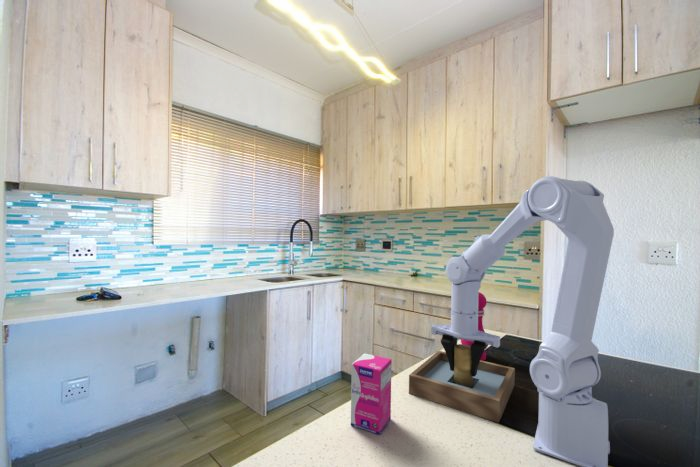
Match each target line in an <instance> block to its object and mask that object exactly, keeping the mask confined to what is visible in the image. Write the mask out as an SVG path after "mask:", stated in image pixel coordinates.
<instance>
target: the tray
mask: <svg viewBox="0 0 700 467" xmlns="http://www.w3.org/2000/svg"><path fill="white" fill-rule="evenodd" d="M440 361H445V362H449V361H448V357H447V354H446V352H445V351H441V350H438V351H436V352H435V353H433V355H431V356H430V357H429V358H428V359H426V360H425V361H424V362H423V363H422V364H421V365H420V366H418V367H417V368H416V369H415V370H413V371H412V372H411V373H410V374H409V375H408V394H410V395H412V396H416V397H419V398H421V399H425V400H428V401H430V402H432V403H433V402H434V403H437V404H440V405H443V406H446V407H450V408H451V409H452V408H453V409H455V410H458V411H462V412H464V413H468V414H470V415H474V416H476V417H480V418H482V419H483V418H484V419H486V420H489V421H493V422H495V423H500V420H501V419H502V417H503V414H504V411H505V409H506V406H507V405H508V401H509V399H510V397H511V394H512V393H513V390H514V388H515V375H516V372H515V371H516V368H515V367H511V366H506V365H503V364H499V363H498V364H497V363H494V362H489V361H485V360H484V361H481V360H480V362H479V365H478V370H482V371H486V372H490V373H494V374H498V375H502V376H505V378H504V380H503V382H502V384H501V385H500V387H499V389H498V391H497V393H496V395H495V397H492V396H488V395H485V394H481V393H478V392H474V391H471V390H467V389H464V388H460V387H457V386H453V385H450V384H446V383H443V382H439V381H436V380H432V379H429V378H425V377H423V376H424V375H425V374H426V373H428V372H429V371H430V370H431V369H432V368H433V367H434V366H435V365H436V364H437V363H438V362H440Z"/></svg>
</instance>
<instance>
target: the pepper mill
mask: <svg viewBox="0 0 700 467" xmlns="http://www.w3.org/2000/svg"><path fill="white" fill-rule="evenodd" d="M487 303H488V302H487V298H486V296H485V294H483V293H482V292H479V291H478V331H482V332H485V333H486V331H485V329H484V326H483V318H484V317H483V316H485V309H484V308H485V307H486V306H487ZM473 343H474V342H473V341H468V340H463V339H460V344H464V345H469V346H471V345H472V344H473ZM488 347H489V345H487V347H486V348H485V350H486V349H487V348H488ZM485 350H484V352H483V354H482V357H481V359H480V360H481V361H485V360H486V359H487V352H486V351H485Z"/></svg>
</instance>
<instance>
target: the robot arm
mask: <svg viewBox="0 0 700 467" xmlns="http://www.w3.org/2000/svg"><path fill="white" fill-rule="evenodd" d="M604 198H605V194H604V193H603V192H602V191H600V190H599V189H598V188H597V187H596V186H594V185H593V184H592V183H590V182H588V181H585V180H573V179H567V178H559V177H556V176H552V175H551V176H550V175H548V176H544V177H543V176H542V177H541V178H539V179H537V180H536V181H534V183H533V184H532V185H531V186H530V188H529V189H527V190H525V191H524V192H523V193H522V195H521V198H520V201H519V203H517V205H516V206H515V207H514V208H513V210H511V211H510V213H509V214H508V215H507V216H506V217H505V219H504V220H502V221H501V223H500V224H499V225H498V226H497V227H496V228H495V230H493V232H492V233H491V234H489V233H487V234H486V233H485V234H481V235H477V236H476V237H475V238H474V243H473V244H471V246H469V247H468V248H467V249H466V250H463V252H462V253H461V255H459V256H452V257H450V259H449V260H448V261H447V263H446V266H445V275H446V276H447V279H448V280H449V281H450V282H451V284H450V285H451V288H450V289H451V290H450V291H451V293H450V295H451V297H450V298H451V299H450V301H451V302H450V325H441V324H435V323H434V324H432V325H431V328H430V329H431V331H430V332H431V335H434V336H436V335H437V336H438V335H439V336H442V337H441V339H440V344H441V346H442V348H443V349H444V350H443V351H444V352H446V354H447V357H448V361H449V365H450V370H451V371H454V346H455V345H457V344H458V340H461V339H463V340H468V341H473V342H474V343H473V344H472V345H471V347H470V348H471V357H472V365H471V376H474V377H475V376H476V374H477V370H478V365H479V362H480V359H481V357H482V354H483V352H484V351H485V350H486V349H487V348H488V347H487V345H488V346H492V347H494V348H497V349H498V348H499V347H500V346H501V336H500V335H495V334H492V333H488V332H486V331H485V332H482V331H478V292H479V291H480V289H481V284H482V281H483V280H484V278H485V276H486V271H487V270H488V269H490V268H491V267H492V266H494V264H495V263H497V262H498V261H499V260H500V259H501V258H502V257H503V256H504V255H505V252H506V251H505V250H506V248H505V247H506V246H507V245H508V244H510V243H511V242H512V241H513V240H515V239H516V238H518V237H519V236H520V235H521V234H523V233H524V232H525V231H526V230H527V229H529V228H531V226H533V225H534V224H535V223H537V222H543V221H549V222H550V223H552V224H554V225H555V226H556V227H557V228H558V229H559V231H561V232H562V233H563V234H564V235H565V236H566V238H567V244H566V246H567V247H566V250H565V256H564V262H563V266H562V270H561V278H560V282H559V287H558V292H557V293H558V294H557V298H556V304H555V309H554V314H553V320H552V324H551V325H552V326H551V330H550V333H549V334H548V335H547V336H546V338H545V339H544V340H543V341H542V342H541V343H540V345H539V348H538V353H537V354H536V356H535V357H534V358H533V359H532V360H531V362H530V364H529V375H530V377H531V380H532V383H534V384H533V385H534V386H535V387H536V388H537V392H538V420H537V421H538V423H537V426H536V431H535V435H534V440H533V445H532V448H533V449H534V450H535V451H536V452H540V453H542V454H545V455H548V456H551V457H554V458H556V459H559V460H562V461H565V462H567V463H570V464H573V465H575V466H576V465H577V466H579V467H608V464H609V463H608V462H609V455H610V453H611V446H610V440H609V409H608V408H609V407H608V403H606V402H604V401H601V400H598V399H596V398H594V397H593V395H592V390H593V388H592V387H593V386H595V385H597V384H598V383H599V381H600V379H601V377H602V376H601V375H602V372H601V371H602V370H601V368H600V364H599V360H598V355H599V348H598V347H597V346H596V345H595V343H594V342H593V340H592V339H593V335H594V330H595V325H596V320H597V316H598V311H599V307H600V303H601V302H600V301H601V297H602V294H603V293H602V292H603V287H604V282H605V278H606V272H607V268H608V263H609V258H610V255H611V254H610V253H611V250H612V244H613V239H614V234H615V233H614V232H615V228H614V226H613V223H612V221H611V219H610V216H609V214H608V211H607V209H606V206H605V203H604ZM486 347H487V348H486ZM485 348H486V349H485Z"/></svg>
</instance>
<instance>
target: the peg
mask: <svg viewBox="0 0 700 467" xmlns="http://www.w3.org/2000/svg"><path fill="white" fill-rule="evenodd" d="M470 347H471V346H469V345H464V344H462V343H457V345H455V346H454V384H457V385H461V386H464V387H468V388H471V387H472V388H473V376H471V365H472V357H471V348H470Z"/></svg>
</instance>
